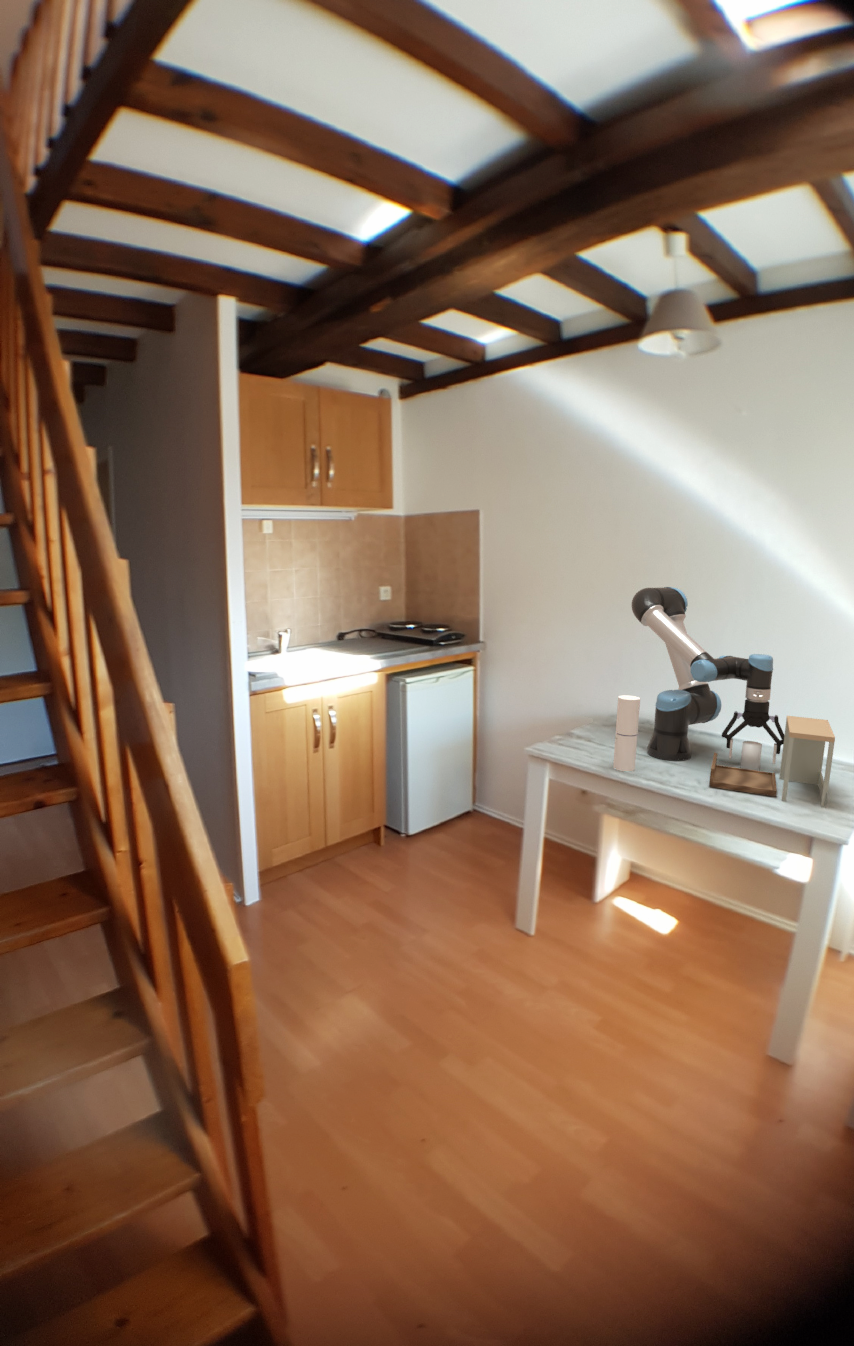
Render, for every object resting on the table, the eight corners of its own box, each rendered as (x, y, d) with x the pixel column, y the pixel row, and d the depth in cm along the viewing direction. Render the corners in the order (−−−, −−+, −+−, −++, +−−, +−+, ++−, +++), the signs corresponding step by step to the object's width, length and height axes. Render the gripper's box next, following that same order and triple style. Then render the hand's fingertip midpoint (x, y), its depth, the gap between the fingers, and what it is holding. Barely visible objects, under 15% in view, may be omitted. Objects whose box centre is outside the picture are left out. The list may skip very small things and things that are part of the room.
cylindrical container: (623, 773, 227) (628, 700, 222) (608, 766, 233) (613, 696, 228) (639, 770, 230) (644, 698, 225) (624, 764, 236) (629, 694, 231)
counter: (781, 800, 204) (789, 732, 200) (779, 778, 224) (786, 715, 220) (825, 807, 199) (835, 737, 195) (819, 784, 219) (827, 720, 215)
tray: (709, 786, 214) (710, 768, 213) (712, 769, 231) (714, 752, 230) (776, 796, 206) (778, 778, 205) (774, 778, 223) (776, 761, 221)
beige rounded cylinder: (739, 769, 232) (742, 744, 230) (740, 764, 238) (742, 740, 236) (759, 772, 230) (762, 747, 228) (759, 767, 235) (761, 742, 233)
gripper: (717, 698, 231) (712, 758, 235) (799, 705, 220) (793, 768, 224) (718, 694, 238) (713, 752, 241) (798, 701, 227) (792, 762, 231)
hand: (751, 760), depth 233 cm, fingers open, 13 cm apart
